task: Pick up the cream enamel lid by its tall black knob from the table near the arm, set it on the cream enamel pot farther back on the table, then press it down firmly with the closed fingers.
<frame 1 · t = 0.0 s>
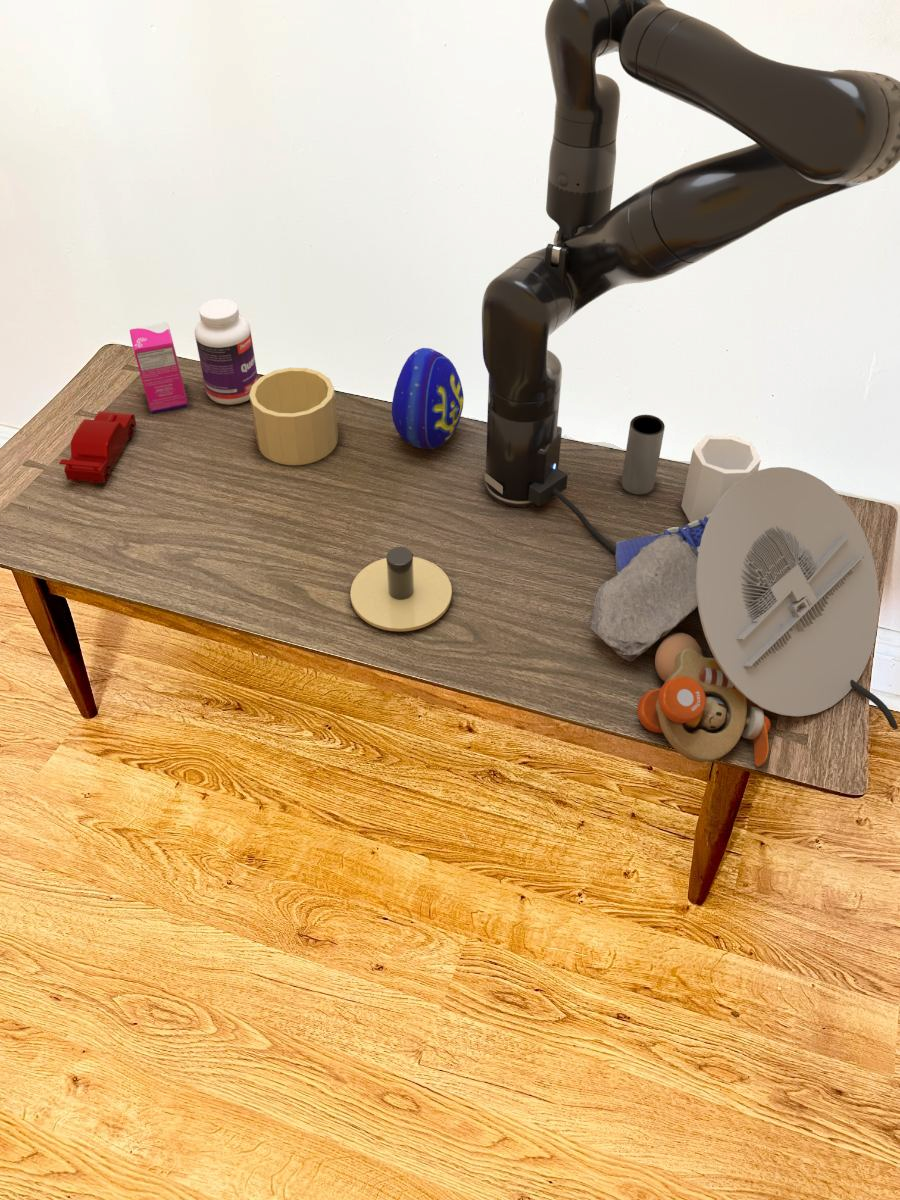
hand: (569, 301, 134), 25 cm above the table, tool pointing down, fingers open, 8 cm apart
pill bottle: (233, 393, 164), on the table
sneaker: (718, 582, 136), on the table, touching plate, stone
pot: (298, 440, 156), on the table
stone: (618, 568, 127), point 7 cm above the table, touching egg, sneaker
egg: (677, 683, 121), point 3 cm above the table, touching stone
ornament: (427, 440, 156), on the table
lid: (401, 594, 133), point 1 cm above the table
supplement box: (167, 401, 163), on the table
toy car: (104, 458, 153), on the table
mug: (714, 503, 146), on the table
plate: (790, 591, 120), point 10 cm above the table, touching sneaker, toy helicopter
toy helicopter: (678, 649, 118), point 7 cm above the table, touching plate
grey hollow tube: (637, 485, 149), on the table
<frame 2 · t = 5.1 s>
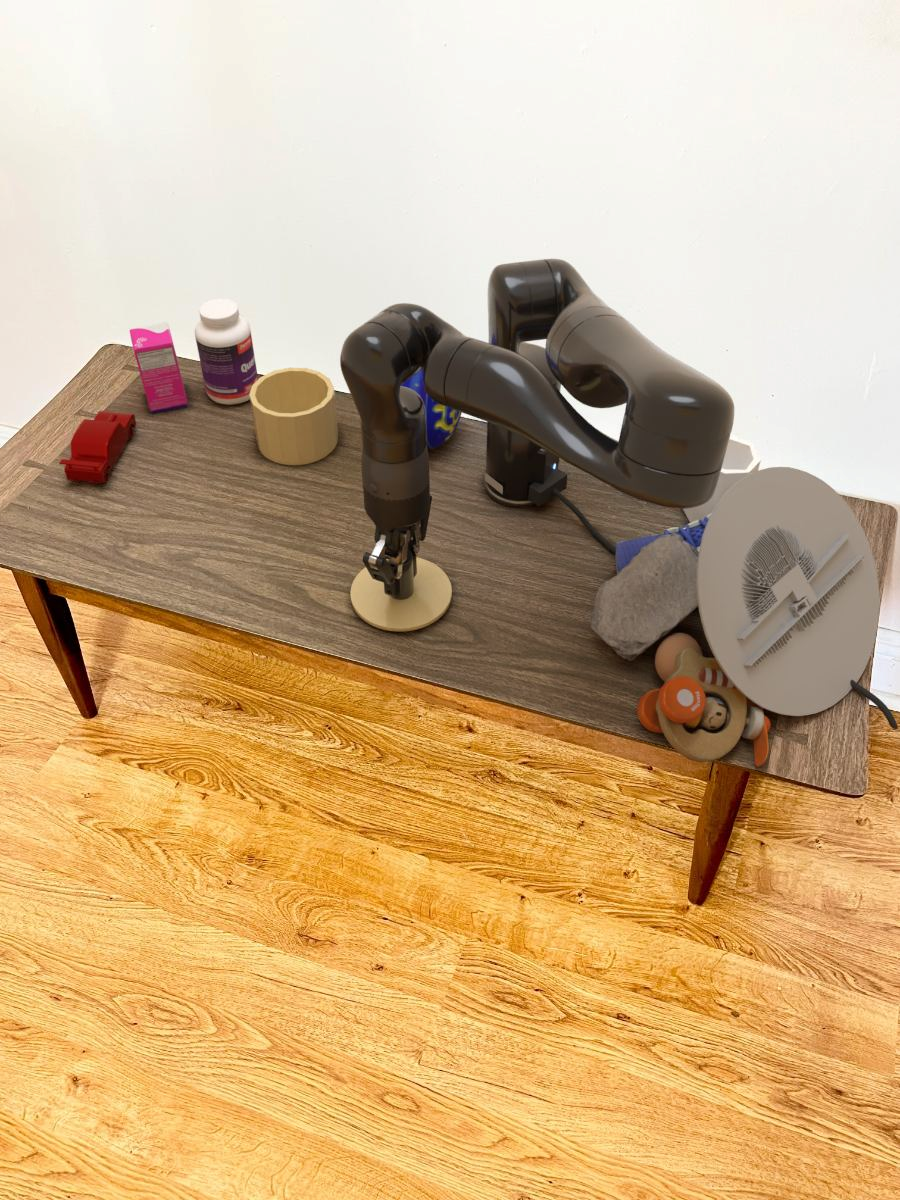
hand: (401, 584, 132), 2 cm above the table, tool pointing down, fingers closed on lid, 3 cm apart
lid: (401, 594, 133), point 1 cm above the table, touching gripper
plate: (790, 590, 121), point 10 cm above the table, touching sneaker
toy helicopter: (678, 649, 118), point 7 cm above the table
everything else where it was.
when the fingers open (10 cm above the table, at t = 14.4 s): lid stays where it is, resting on pot.
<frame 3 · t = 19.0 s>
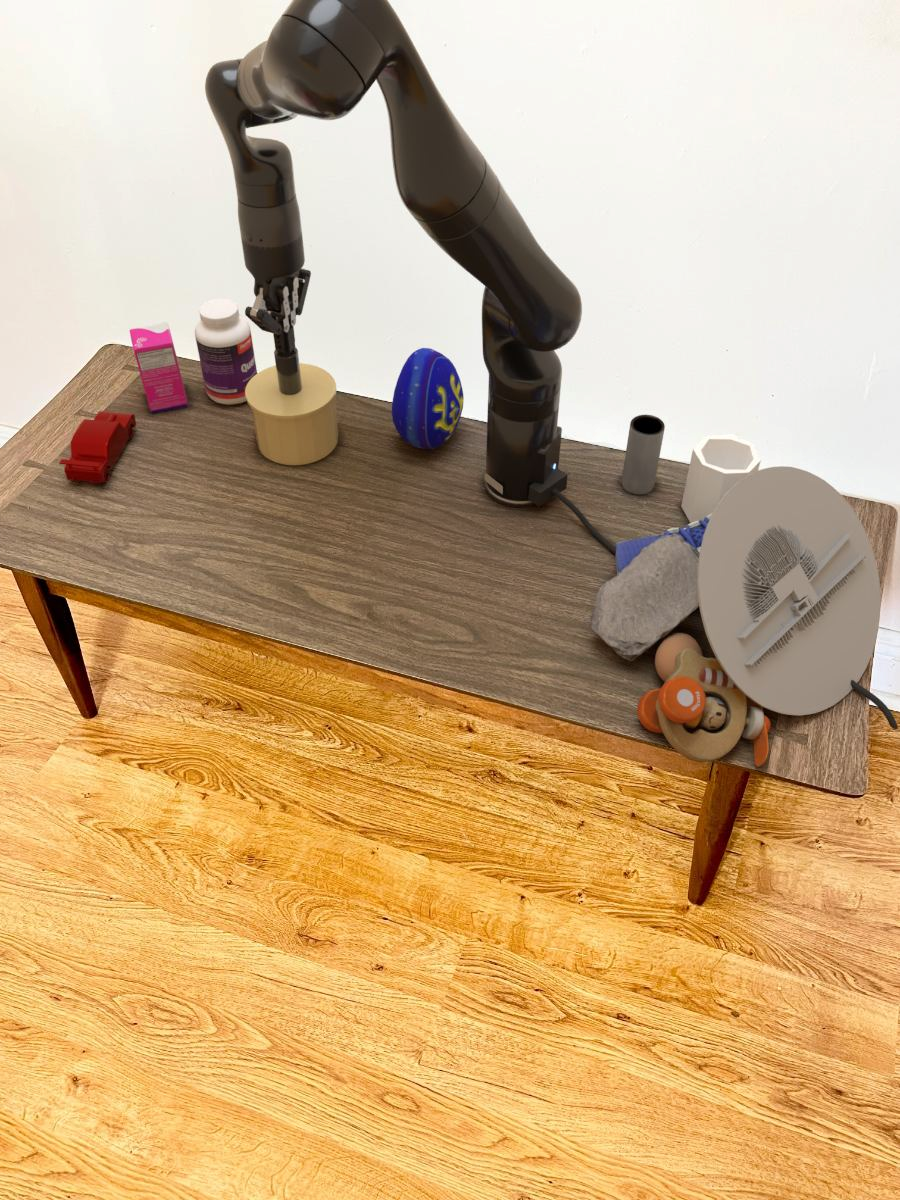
hand: (286, 351, 145), 15 cm above the table, tool pointing down, fingers closed
lid: (291, 392, 149), point 8 cm above the table, touching gripper, pot
plate: (791, 590, 121), point 10 cm above the table, touching sneaker, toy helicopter
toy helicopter: (678, 649, 118), point 7 cm above the table, touching plate
everything else where it was.
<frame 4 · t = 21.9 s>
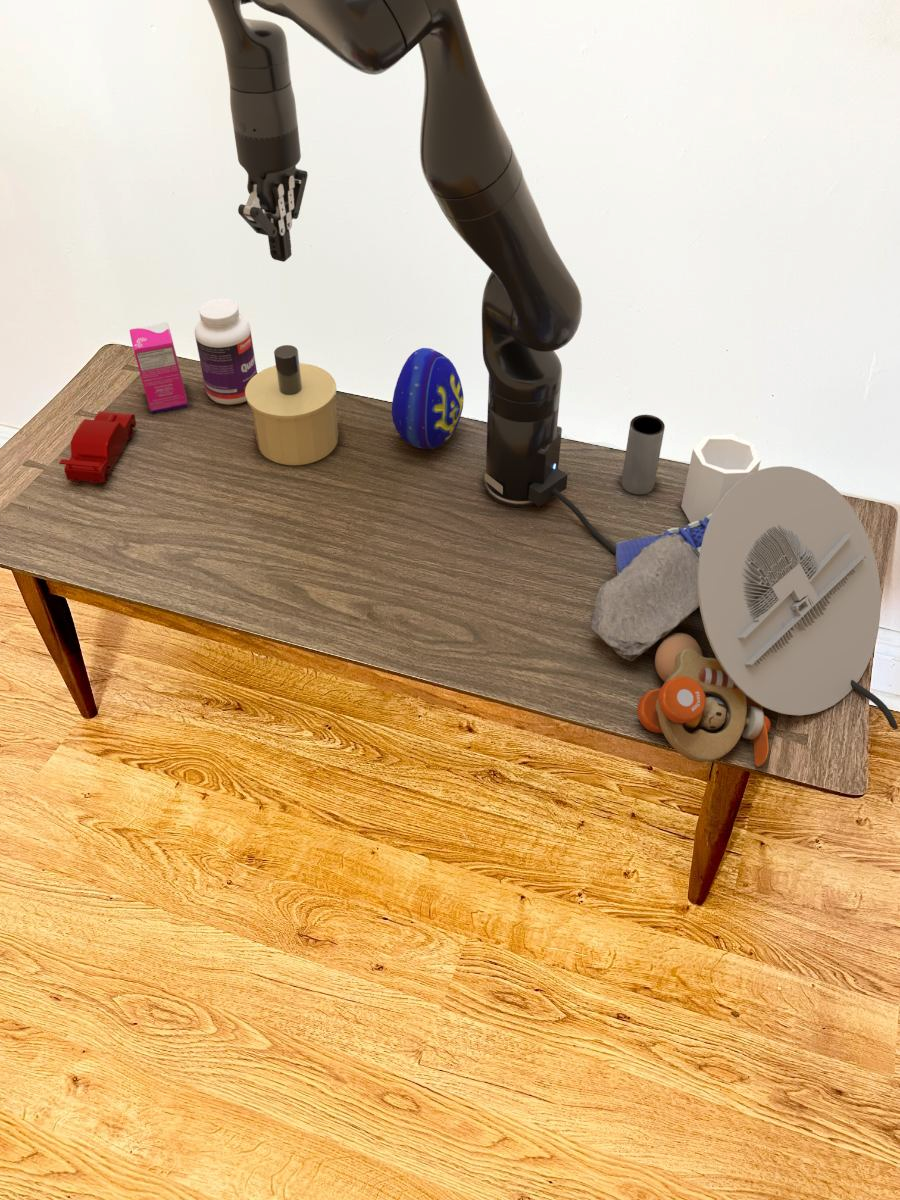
hand: (281, 257, 138), 27 cm above the table, tool pointing down, fingers closed
lid: (291, 392, 149), point 8 cm above the table, touching pot
everything else where it was.
at the end: lid 0.2 cm off-centre on the pot, point 8.5 cm above the pot's base; lid tilted 0°; the gripper is holding nothing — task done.
